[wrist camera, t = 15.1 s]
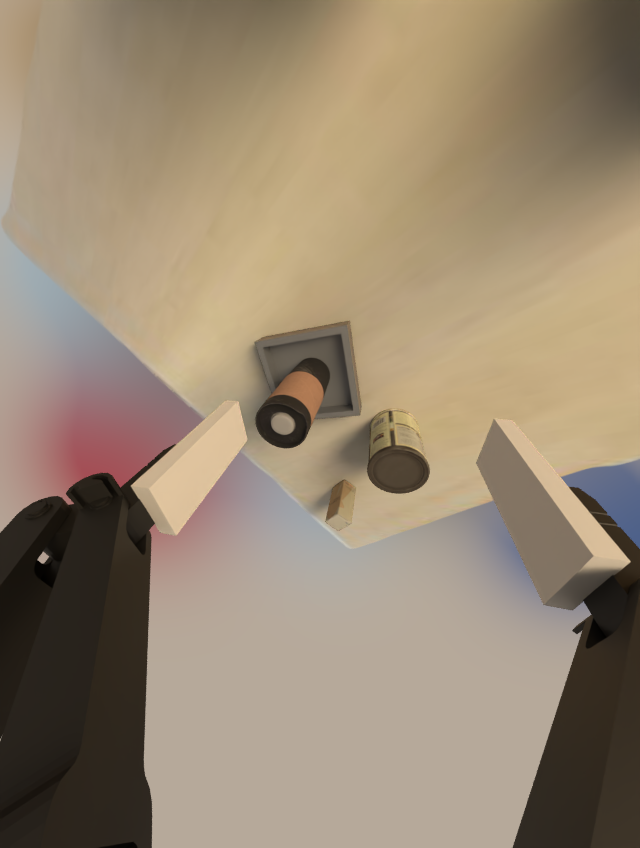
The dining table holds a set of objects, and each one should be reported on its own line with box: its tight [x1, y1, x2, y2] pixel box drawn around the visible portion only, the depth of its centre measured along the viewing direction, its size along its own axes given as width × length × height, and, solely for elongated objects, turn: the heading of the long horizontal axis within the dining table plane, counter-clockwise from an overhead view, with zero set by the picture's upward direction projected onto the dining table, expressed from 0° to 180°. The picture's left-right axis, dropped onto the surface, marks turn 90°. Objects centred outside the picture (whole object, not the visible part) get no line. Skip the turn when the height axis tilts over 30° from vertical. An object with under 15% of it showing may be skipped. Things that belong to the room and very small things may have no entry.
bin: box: [255, 321, 361, 419], centre depth 50 cm, size 17×17×4 cm
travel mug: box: [256, 358, 330, 448], centre depth 42 cm, size 8×8×20 cm
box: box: [325, 480, 356, 531], centre depth 62 cm, size 5×4×11 cm
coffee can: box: [367, 409, 430, 494], centre depth 49 cm, size 10×10×14 cm
